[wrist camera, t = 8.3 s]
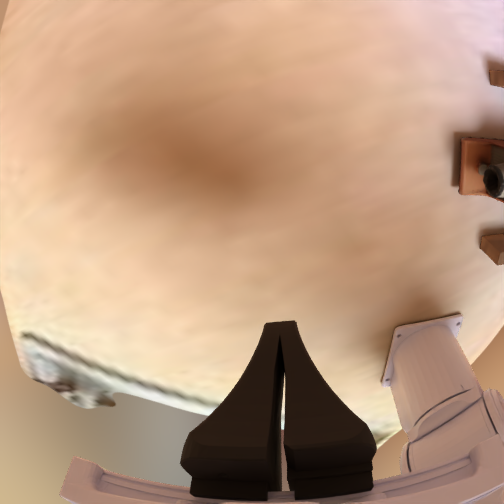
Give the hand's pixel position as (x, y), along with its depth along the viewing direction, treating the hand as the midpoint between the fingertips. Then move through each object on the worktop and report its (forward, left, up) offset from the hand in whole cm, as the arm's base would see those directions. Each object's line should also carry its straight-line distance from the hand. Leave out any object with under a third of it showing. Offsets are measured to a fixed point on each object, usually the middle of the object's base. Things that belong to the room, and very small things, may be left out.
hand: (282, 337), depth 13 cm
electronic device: (+5, -19, -10) cm, 22 cm away
